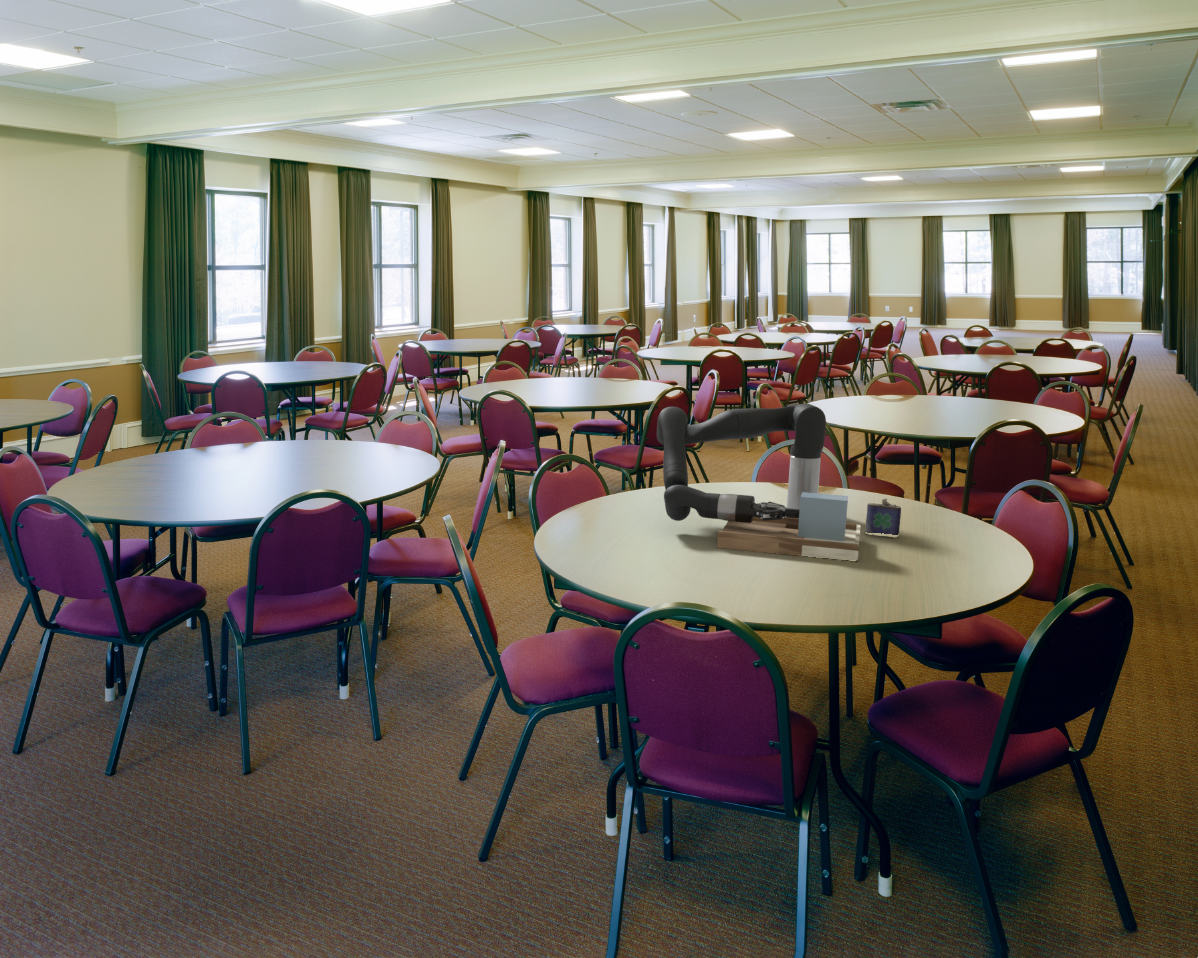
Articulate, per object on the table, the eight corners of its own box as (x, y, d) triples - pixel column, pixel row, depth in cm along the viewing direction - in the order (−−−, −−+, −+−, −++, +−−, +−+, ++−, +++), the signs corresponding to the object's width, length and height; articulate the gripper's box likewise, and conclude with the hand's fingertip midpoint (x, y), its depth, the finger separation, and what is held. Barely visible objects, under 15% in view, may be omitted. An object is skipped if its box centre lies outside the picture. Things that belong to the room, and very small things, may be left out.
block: (799, 531, 243) (802, 492, 241) (844, 535, 240) (848, 495, 237) (797, 536, 237) (800, 496, 235) (844, 541, 234) (847, 500, 232)
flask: (864, 534, 252) (867, 498, 250) (865, 532, 255) (869, 495, 253) (898, 539, 249) (901, 502, 246) (899, 536, 251) (903, 499, 249)
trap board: (730, 527, 257) (730, 512, 256) (859, 539, 247) (860, 524, 246) (717, 547, 236) (718, 531, 235) (857, 562, 226) (859, 545, 225)
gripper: (732, 500, 237) (799, 505, 232) (740, 489, 250) (803, 495, 245) (731, 527, 239) (797, 533, 234) (738, 515, 251) (801, 521, 246)
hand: (800, 513), depth 239 cm, fingers closed
